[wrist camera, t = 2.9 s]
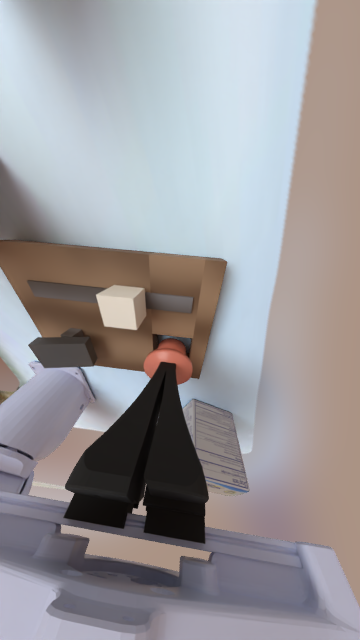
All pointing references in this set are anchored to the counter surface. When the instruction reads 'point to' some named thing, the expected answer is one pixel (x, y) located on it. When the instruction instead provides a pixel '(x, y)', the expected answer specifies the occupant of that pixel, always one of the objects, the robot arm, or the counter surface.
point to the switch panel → (103, 272)
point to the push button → (170, 359)
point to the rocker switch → (64, 351)
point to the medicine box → (217, 448)
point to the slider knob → (122, 306)
